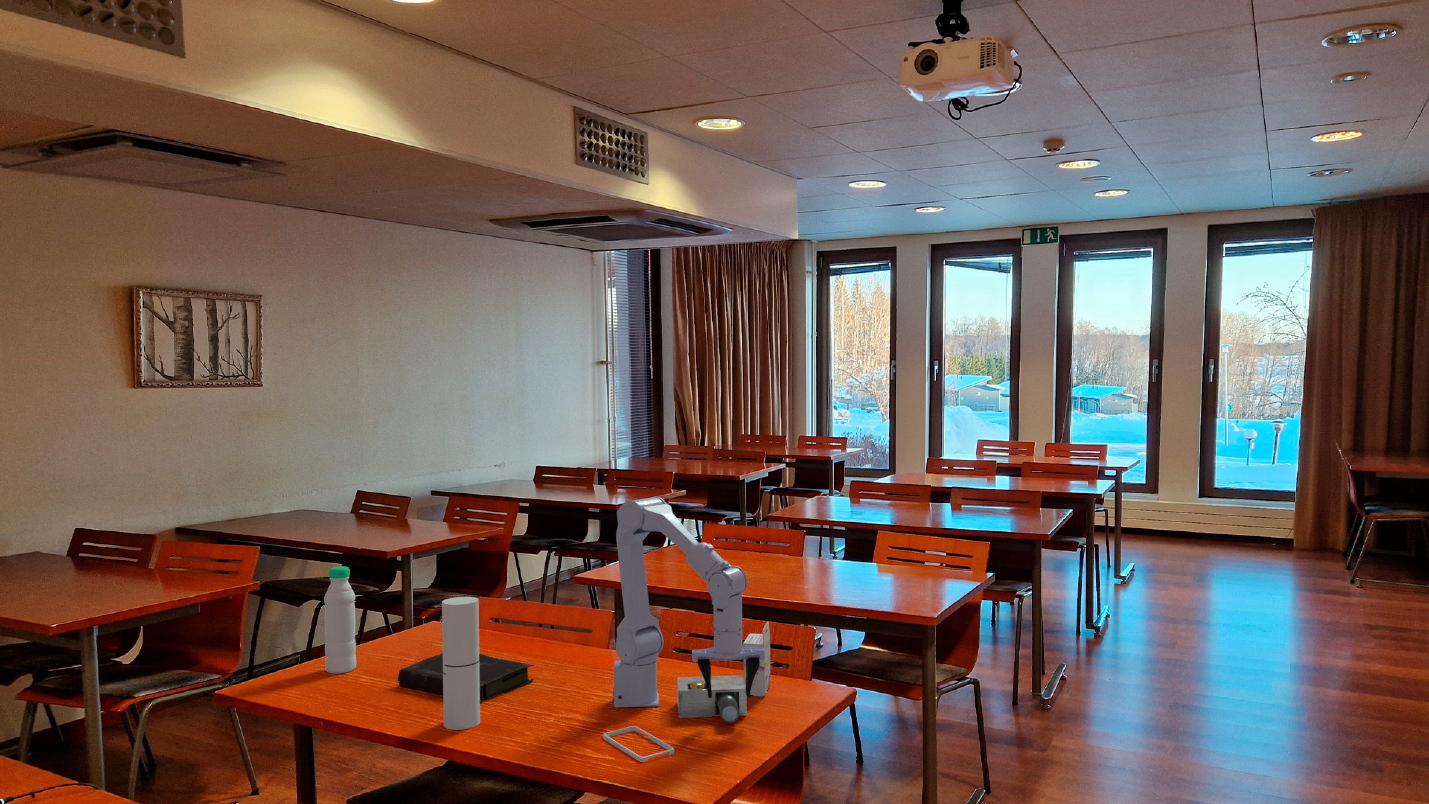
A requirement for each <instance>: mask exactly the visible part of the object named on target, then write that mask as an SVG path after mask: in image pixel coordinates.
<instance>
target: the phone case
mask: <svg viewBox="0 0 1429 804" xmlns="http://www.w3.org/2000/svg"><path fill="white" fill-rule="evenodd" d="M629 732H636V733H638V734H639V733H642V734H644V735H646V736H647V737H649V738H648V739H649V740H650V741H652V742H653V743H655V744H657V745H659V746H660V747H662V748H664V749H666V750H663V751H660V752H656V753H652V754H649V755H646V756H642V755H639V754H637V753H636V752H634V751H633V750H631V749H629V748H628V747H626V746H624V745H623V744H621V743H620V742H618V741H616V740H615V739H613V738H612V737H614V736H618V735H622V734H623V735H624V734H626V733H629ZM603 740H604V741H607V743H610V744H611V745H612V746H614V747H616V748H617V749H619V750H620V751H622V752H623V753H625V754H627V755H628V756H630V757H631V758H633V759H635V760H636V761H638V762H640V763H646V762H649V760H648V759H650V758H653V757H657V756H660V755H664V754H667V753H668V755H669V756H671V755H674V754H675V747H673V746H671V745H670V744H668V743H666V742H665V741H663V740H661V739H660V738H658V737H655V736H654V735H652V734H651V733H649V732H647V731H646V730H644V729H641V728H640V727H638V726H636V725H632V726H628V727H624V728H619V729H617V730H611V731H607V732H604V733H603Z"/></svg>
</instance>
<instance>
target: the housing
mask: <svg viewBox="0 0 1429 804" xmlns="http://www.w3.org/2000/svg"><path fill="white" fill-rule="evenodd" d="M676 678H677V681H676V683H677V684H676V685H677V686H676V688H677V689H676V690H677V692H676V693H677V694H676V695H677V696H676V697H677V712H678V718H679V719H686V718H687V719H689V718H713V717H712V716H720V712H719V707H718V702H717V697H716V693H717V692H734V695H735V699H736V702H737V706H738V710H739V716H738V717H743V716H744V717H746V716H748V715H747V713H748V712H747V709H748V708H747V707H748V706H747V696H746V689H745V688H746V686H745V683H744V675H741V674H740V675H717V676H715V675H711V689H712V698H708V691H707V686H706V683H705V680H704V678H703V676H683V677H682V676H679V677H676ZM695 681H700V682H704V683H705V689H695V690H690V683H691V682H695Z"/></svg>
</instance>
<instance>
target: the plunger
mask: <svg viewBox="0 0 1429 804" xmlns="http://www.w3.org/2000/svg"><path fill="white" fill-rule="evenodd" d="M695 689H705V683H704V682H700V681H695V682H691V683H690V690H695Z"/></svg>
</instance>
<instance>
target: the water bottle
mask: <svg viewBox="0 0 1429 804" xmlns="http://www.w3.org/2000/svg"><path fill="white" fill-rule="evenodd" d="M350 571H351V569H350V567H348V566H346V565H345V566H342V565H341V566H334V567H331V568H329V571H328V577H329V580H330V584H329V586H328V587H327V590H326V592H325V594H324V598H323V602H324V618H323V619H324V623H323V625H324V638H325V639H324V640H325V642H324V643H325V645H324V654H325V659H324V660H325V661H324V669H325V672H327V673H329V674H333V675H334V674H335V675H336V674H346V673H350V672H352V671H354V670H355V669H356V667H357V655H356V650H357V649H356V648H357V642H356V624H357V623H356V605H355V604H356V603H355V600H356V594H355V592H354V590H353V589H352V586H351V583H350V582H349V578H350V576H351V575H350V573H351V572H350Z"/></svg>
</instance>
